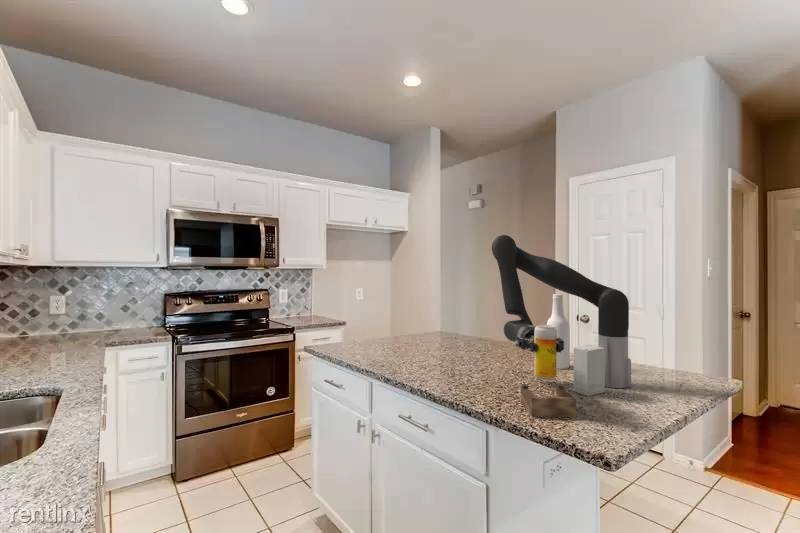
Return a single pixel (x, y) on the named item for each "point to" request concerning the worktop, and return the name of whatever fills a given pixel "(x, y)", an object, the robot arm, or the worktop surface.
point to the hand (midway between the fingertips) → (548, 348)
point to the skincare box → (589, 370)
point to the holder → (549, 403)
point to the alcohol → (561, 331)
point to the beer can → (545, 352)
